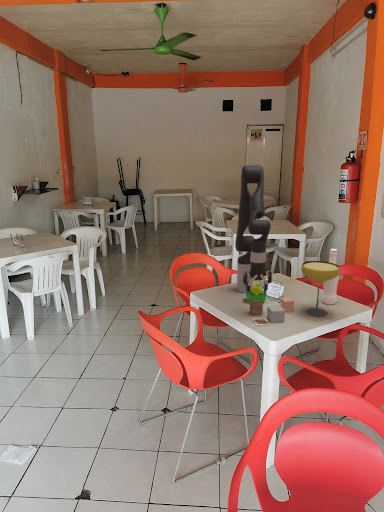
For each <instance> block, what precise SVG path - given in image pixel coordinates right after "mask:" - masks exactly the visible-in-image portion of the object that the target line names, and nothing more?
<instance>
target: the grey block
mask: <svg viewBox="0 0 384 512" xmlns="http://www.w3.org/2000/svg"><path fill="white" fill-rule="evenodd" d="M285 315H286V313H285V310H284V309H283V308H282V307H281V305H272V306H271V305H269V306H267V309H266V319H267V320H268V322H269V323H270V324H275V323H285Z"/></svg>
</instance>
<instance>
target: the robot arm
mask: <svg viewBox="0 0 384 512" xmlns="http://www.w3.org/2000/svg"><path fill="white" fill-rule="evenodd" d="M241 168H242V169H241V175H240V177H241V178H240V197H239V207H238V218H237V229H236V235H235V236H236V237H235V243H234V244H235V246H234V247H235V250H236V251H237V252H241V253H242V252H246V253H245V254H243V255H239V256H238V258H237V260H236V261H237V264H236V265H237V267H236V270H237V271H236V273H237V274H236V291H237V292H238V293H240V294H241V293H242V294H246V293H245V290H247V291H248V293H250V290H252V287H253V286H254V283H253V282H254V281H255V282H257V281H263V282H264V283H263V291H265V292H266V293H267V291H268V290H269V284H272V283H273V280H272V279H273V278H272V277H273V274H272V271H271V270H267V271H266V267H267V266H266V264H267V253H266V251H267V250H266V249H267V241H268V237H269V235H270V231H271V228H272V227H271V222H270V221H269V220H267V219H262V218H264V217H265V215H266V211H265V202H264V193H265V191H264V190H265V189H264V187H265V185H264V184H265V182H264V181H265V178H264V177H265V173H264V167H263V166H262V165H259V164H258V165H255V164H254V165H253V164H252V165H249V164H247V165H246V164H245V165H243V166H242V167H241ZM248 184H257V186H256V190H255V191H254V192H253V194H252V195H251V194H250V191H249V187H248ZM246 230H248V232H249V234H251V235H244V233H245V232H246ZM253 235H254V236H256V235H257V236H259V235H261V236H260V237H259V238H255V237H254V236H253ZM266 276H267V279H266V278H265V277H266Z"/></svg>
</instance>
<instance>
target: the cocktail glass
mask: <svg viewBox="0 0 384 512" xmlns="http://www.w3.org/2000/svg"><path fill="white" fill-rule="evenodd" d="M300 268H301V272H302V274H303V275H304V276H305V277H307V278H308V279H310V280H312V281H313V282H314V283H315V284H316V285H317V294H316V295H317V297H316V305H315V307H310V308H309V307H308V308H307V309H305V313H306V314H307V315H310V316H313V317H317V318H321V317H326V316H328V315H329V312H328V310H325V309H323V308H319V296H320V286H321V285H322V284H323V282H325V281H328V280H331V279H334V278H336V277H337V276H338V275H339V276H340V270H341V269H340V266H339V265H338V264H337V263H336V264H334V263H330V262H329V261H325V260H310V261H309V260H308V261H305V262H303V263H302V264H301V267H300Z"/></svg>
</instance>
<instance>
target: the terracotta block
mask: <svg viewBox="0 0 384 512" xmlns="http://www.w3.org/2000/svg"><path fill="white" fill-rule="evenodd" d="M280 306H281V307H282V308H283V309H284V310H285V314H287V313H294V310H295V309H294V308H295V301H294V300H293V299H292V298H291V297H283V298H282V297H281V298H280Z"/></svg>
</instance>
